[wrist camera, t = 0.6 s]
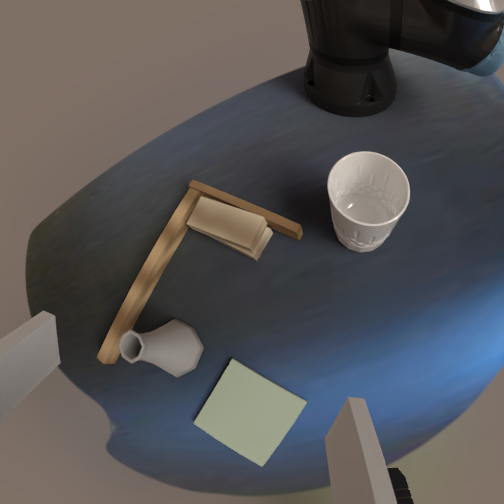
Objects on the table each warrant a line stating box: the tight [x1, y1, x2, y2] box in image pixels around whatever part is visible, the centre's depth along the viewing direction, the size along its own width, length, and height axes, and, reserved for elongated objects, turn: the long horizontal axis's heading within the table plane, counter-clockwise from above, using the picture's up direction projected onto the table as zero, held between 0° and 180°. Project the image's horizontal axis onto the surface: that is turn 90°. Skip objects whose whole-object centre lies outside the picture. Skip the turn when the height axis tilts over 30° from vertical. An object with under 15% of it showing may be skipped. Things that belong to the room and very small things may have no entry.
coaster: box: [194, 358, 308, 467], centre depth 31 cm, size 10×10×1 cm
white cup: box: [327, 151, 410, 253], centre depth 30 cm, size 8×8×10 cm
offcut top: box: [187, 196, 268, 253], centre depth 36 cm, size 4×9×2 cm, turn 64°
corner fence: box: [97, 180, 303, 364], centre depth 36 cm, size 28×16×3 cm, turn 150°
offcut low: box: [210, 227, 273, 261], centre depth 38 cm, size 4×9×2 cm, turn 59°
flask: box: [118, 318, 204, 378], centre depth 31 cm, size 7×7×10 cm
